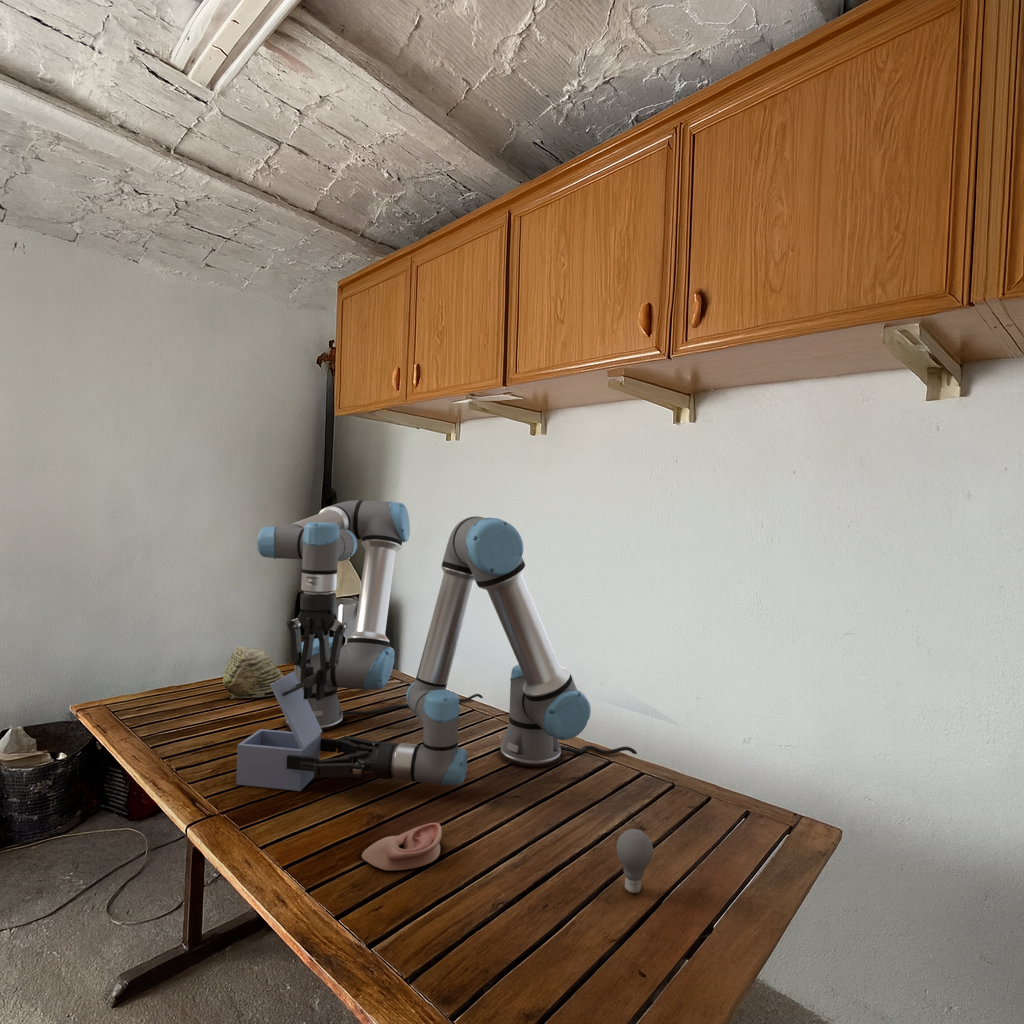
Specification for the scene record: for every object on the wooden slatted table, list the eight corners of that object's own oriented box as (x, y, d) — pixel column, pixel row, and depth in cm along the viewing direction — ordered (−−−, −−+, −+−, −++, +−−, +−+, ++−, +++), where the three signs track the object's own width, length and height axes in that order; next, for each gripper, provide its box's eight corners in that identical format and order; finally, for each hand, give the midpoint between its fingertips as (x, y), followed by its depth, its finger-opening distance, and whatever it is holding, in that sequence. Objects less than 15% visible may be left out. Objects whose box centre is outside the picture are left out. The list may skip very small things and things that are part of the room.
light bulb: (610, 879, 108) (613, 822, 108) (644, 879, 109) (647, 822, 109) (619, 902, 102) (622, 840, 102) (655, 901, 103) (658, 840, 103)
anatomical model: (354, 842, 109) (381, 811, 120) (353, 865, 109) (380, 831, 121) (427, 854, 107) (448, 821, 118) (426, 877, 107) (447, 842, 118)
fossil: (218, 695, 195) (220, 647, 195) (278, 685, 208) (279, 640, 207) (228, 703, 189) (230, 653, 188) (289, 692, 201) (290, 645, 201)
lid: (269, 684, 136) (302, 668, 135) (290, 672, 146) (321, 657, 145) (300, 749, 136) (334, 733, 135) (319, 733, 145) (350, 718, 144)
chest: (236, 784, 138) (237, 744, 137) (258, 766, 147) (260, 728, 147) (300, 791, 136) (302, 750, 136) (319, 772, 146) (320, 734, 145)
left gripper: (277, 592, 137) (273, 700, 137) (345, 596, 135) (340, 706, 135) (294, 587, 145) (289, 690, 145) (358, 592, 143) (353, 696, 143)
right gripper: (378, 802, 127) (273, 791, 130) (409, 757, 149) (318, 749, 152) (380, 765, 127) (274, 755, 130) (410, 726, 149) (320, 718, 152)
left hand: (313, 697), depth 140 cm, fingers closed on lid, 2 cm apart
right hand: (298, 752), depth 141 cm, fingers closed on chest, 10 cm apart
